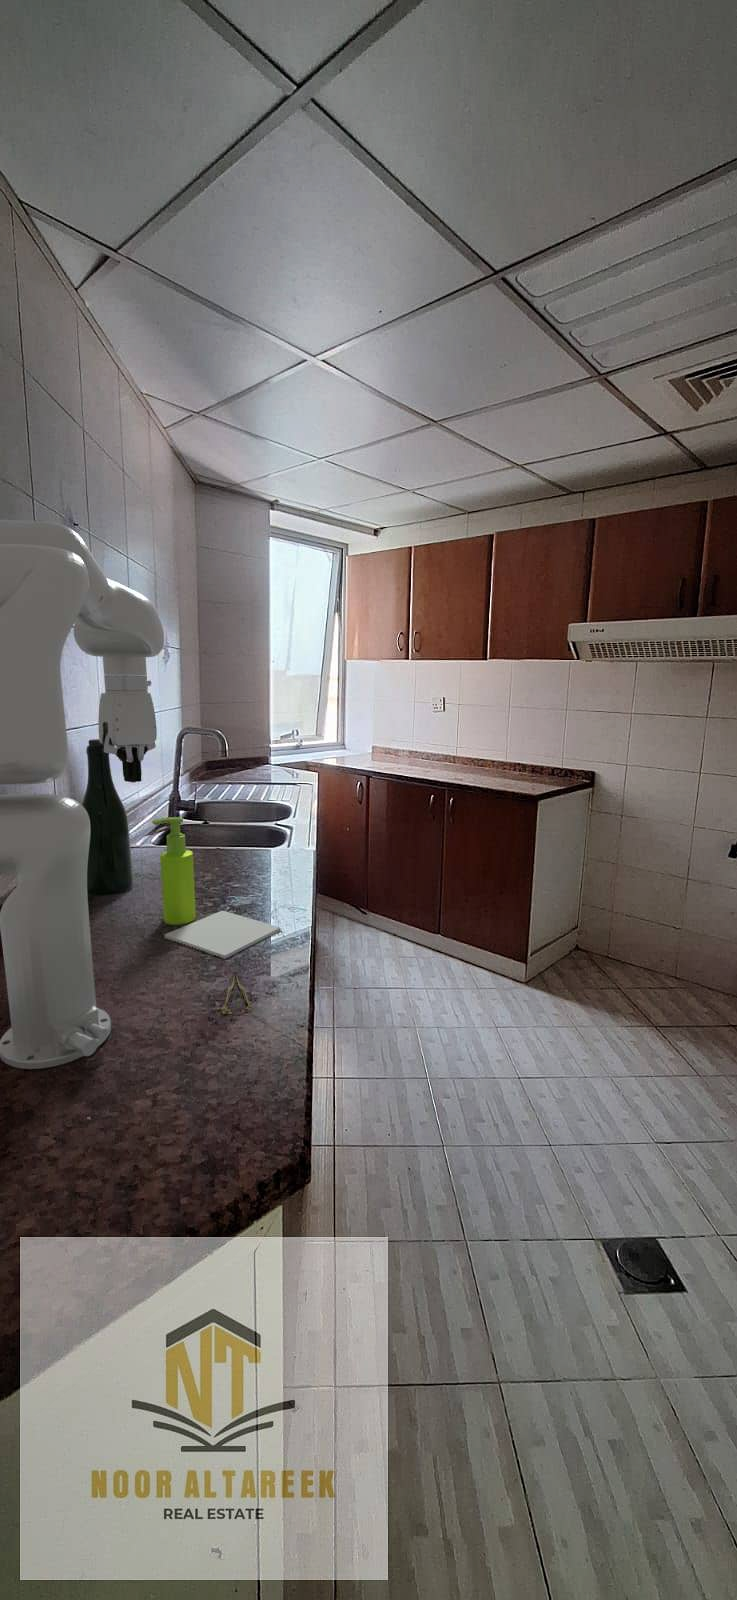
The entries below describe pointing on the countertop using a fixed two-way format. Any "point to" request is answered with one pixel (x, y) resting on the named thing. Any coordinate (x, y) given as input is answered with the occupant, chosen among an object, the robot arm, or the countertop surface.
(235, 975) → the tongs
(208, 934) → the grey mat
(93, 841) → the green wine bottle
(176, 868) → the soap dispenser
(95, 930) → the countertop surface
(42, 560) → the robot arm
